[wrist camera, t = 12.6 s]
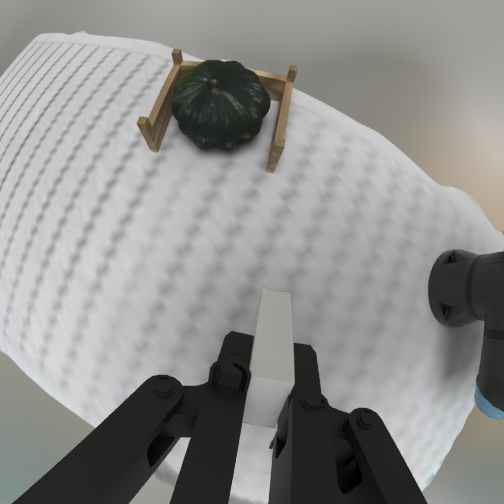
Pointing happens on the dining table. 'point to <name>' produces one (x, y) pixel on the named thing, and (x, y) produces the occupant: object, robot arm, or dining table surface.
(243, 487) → the dining table surface
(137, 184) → the dining table surface
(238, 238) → the dining table surface
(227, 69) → the squash
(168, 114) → the rack
